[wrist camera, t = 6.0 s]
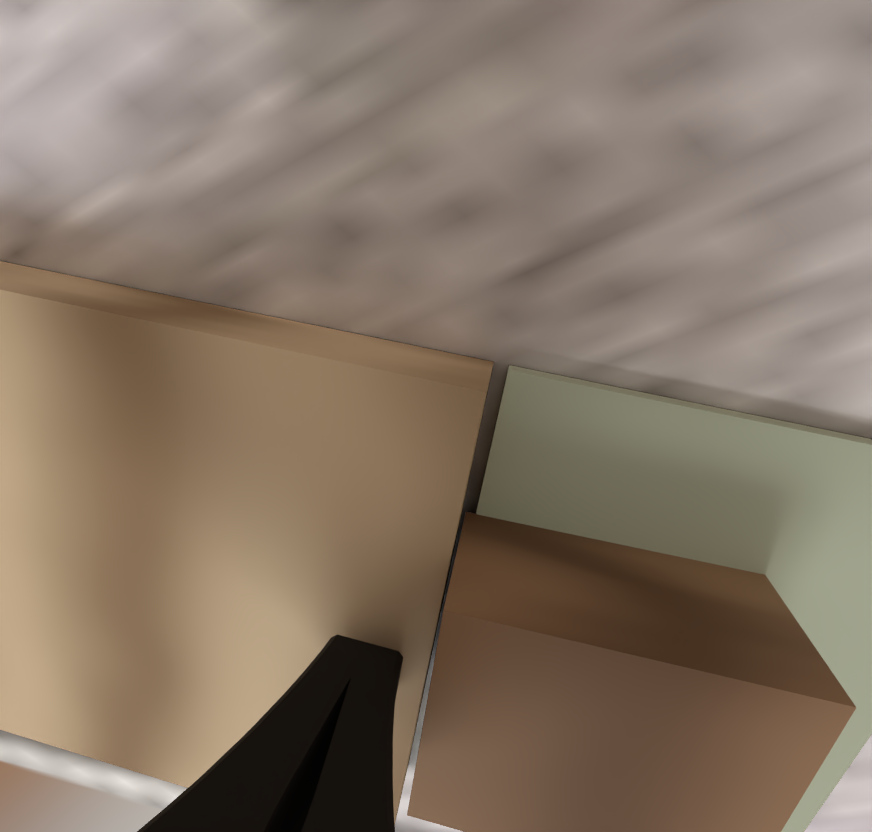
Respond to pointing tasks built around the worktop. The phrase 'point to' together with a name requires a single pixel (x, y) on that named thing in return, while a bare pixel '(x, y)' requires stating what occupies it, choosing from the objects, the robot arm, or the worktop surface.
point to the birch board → (212, 514)
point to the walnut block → (616, 692)
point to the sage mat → (704, 508)
